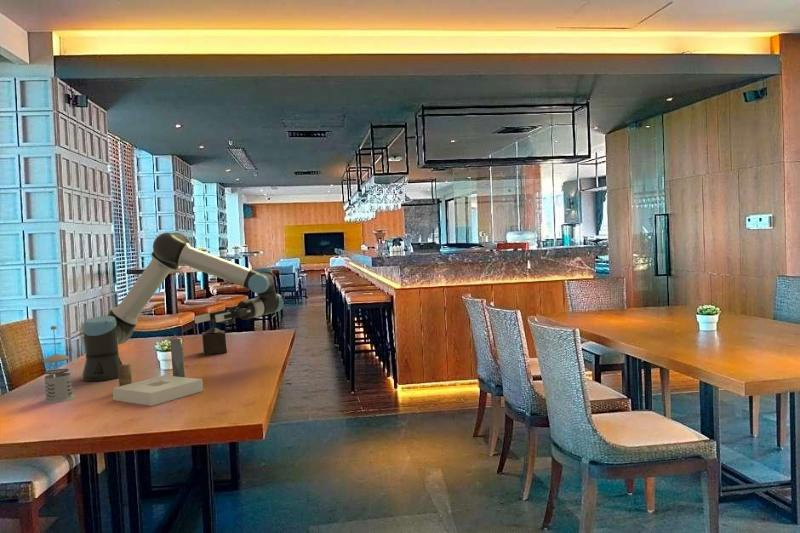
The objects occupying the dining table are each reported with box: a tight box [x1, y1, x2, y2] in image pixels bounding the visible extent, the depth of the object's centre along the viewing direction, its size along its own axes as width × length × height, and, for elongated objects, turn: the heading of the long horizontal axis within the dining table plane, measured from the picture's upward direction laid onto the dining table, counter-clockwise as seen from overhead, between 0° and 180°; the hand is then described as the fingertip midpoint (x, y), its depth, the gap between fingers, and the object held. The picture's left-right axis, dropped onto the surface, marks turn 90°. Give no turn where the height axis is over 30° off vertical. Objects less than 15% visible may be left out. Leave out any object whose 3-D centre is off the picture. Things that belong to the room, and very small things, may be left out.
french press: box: [42, 325, 76, 404], centre depth 217 cm, size 10×12×25 cm
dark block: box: [201, 317, 236, 356], centre depth 296 cm, size 16×11×18 cm
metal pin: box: [169, 337, 186, 377], centre depth 232 cm, size 4×4×16 cm
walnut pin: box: [118, 364, 133, 387], centre depth 223 cm, size 4×4×9 cm
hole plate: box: [112, 374, 204, 407], centre depth 214 cm, size 20×20×4 cm
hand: (205, 319), depth 243 cm, fingers open, 13 cm apart
